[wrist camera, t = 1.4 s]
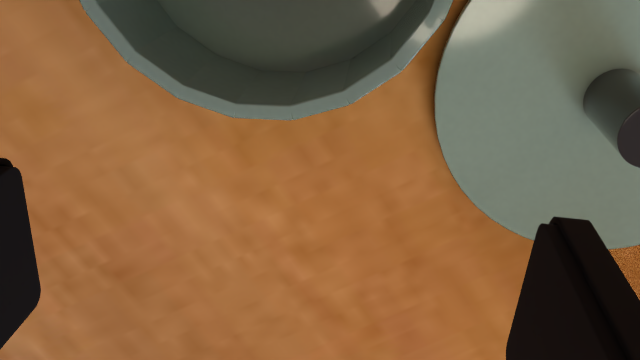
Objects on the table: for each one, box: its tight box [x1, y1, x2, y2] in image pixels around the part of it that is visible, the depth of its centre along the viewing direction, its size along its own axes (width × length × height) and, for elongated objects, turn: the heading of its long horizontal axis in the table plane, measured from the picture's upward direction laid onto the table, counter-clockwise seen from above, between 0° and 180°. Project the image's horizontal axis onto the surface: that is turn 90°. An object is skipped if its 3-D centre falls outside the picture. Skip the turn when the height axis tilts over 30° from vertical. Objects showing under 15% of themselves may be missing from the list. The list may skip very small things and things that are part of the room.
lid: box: [434, 0, 640, 249], centre depth 27 cm, size 17×17×6 cm
